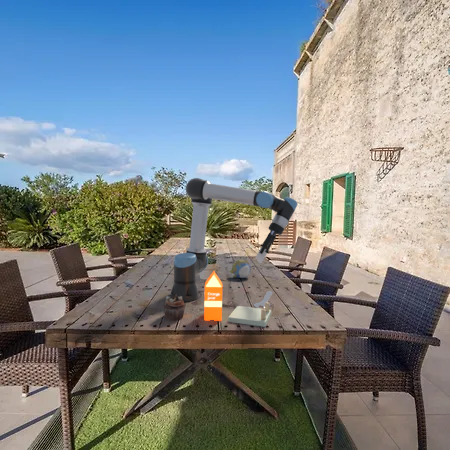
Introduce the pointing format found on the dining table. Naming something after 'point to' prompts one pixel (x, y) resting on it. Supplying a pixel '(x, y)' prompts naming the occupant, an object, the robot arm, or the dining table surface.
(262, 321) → the plinth
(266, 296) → the wrench
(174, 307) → the cupcake
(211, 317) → the orange juice
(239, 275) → the globe
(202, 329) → the dining table surface
